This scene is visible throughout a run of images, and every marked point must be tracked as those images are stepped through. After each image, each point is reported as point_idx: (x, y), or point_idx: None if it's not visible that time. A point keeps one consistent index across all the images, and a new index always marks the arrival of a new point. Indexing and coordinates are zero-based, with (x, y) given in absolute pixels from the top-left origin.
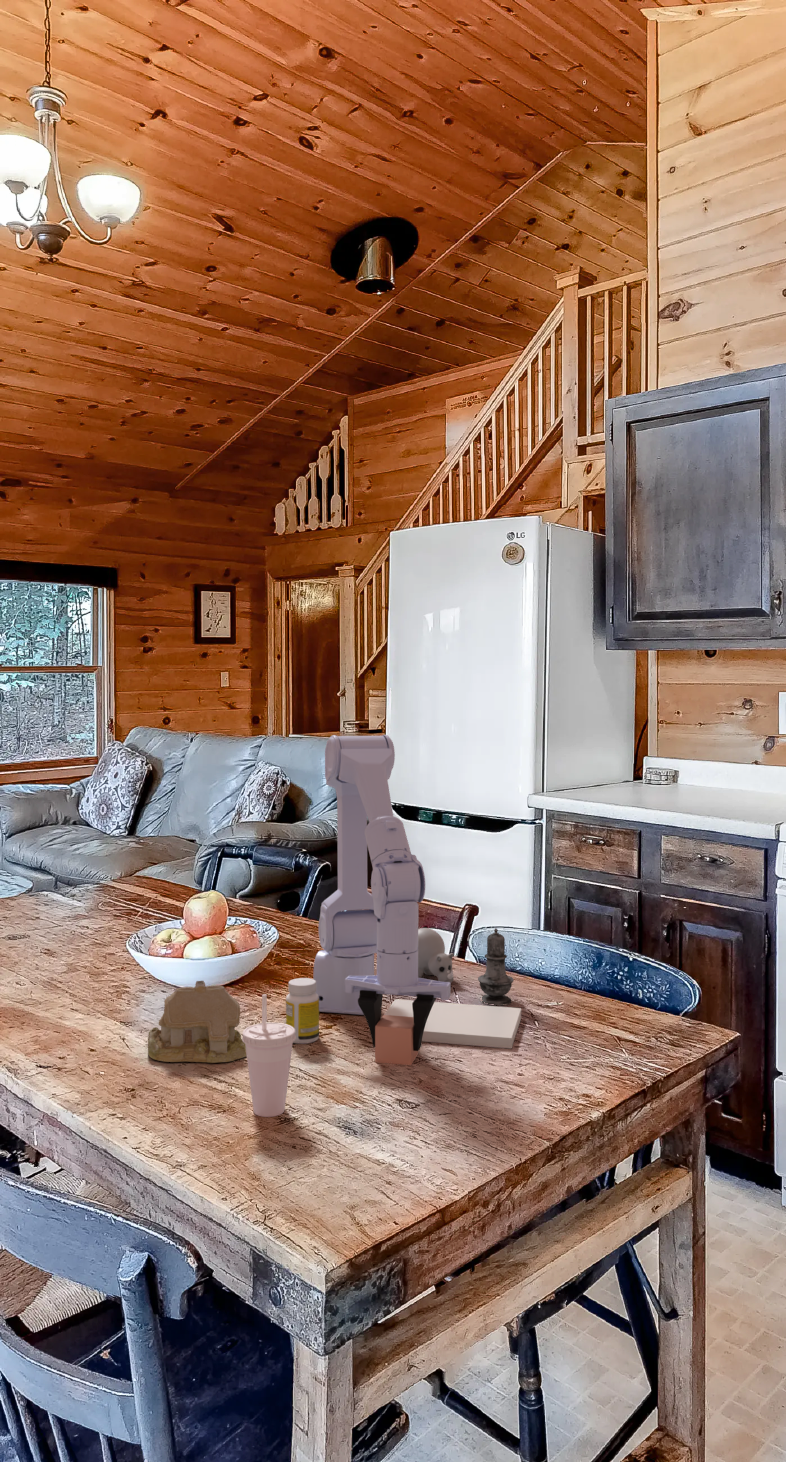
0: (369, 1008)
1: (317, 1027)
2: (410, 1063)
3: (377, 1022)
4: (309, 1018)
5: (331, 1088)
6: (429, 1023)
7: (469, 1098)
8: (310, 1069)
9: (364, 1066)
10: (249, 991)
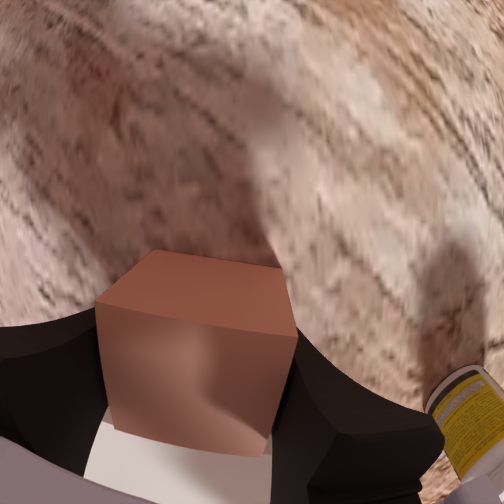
0: (357, 412)
1: (444, 414)
2: (154, 250)
3: (287, 396)
4: (480, 412)
5: (394, 43)
6: (153, 467)
7: (23, 49)
8: (467, 194)
9: (317, 225)
10: None
